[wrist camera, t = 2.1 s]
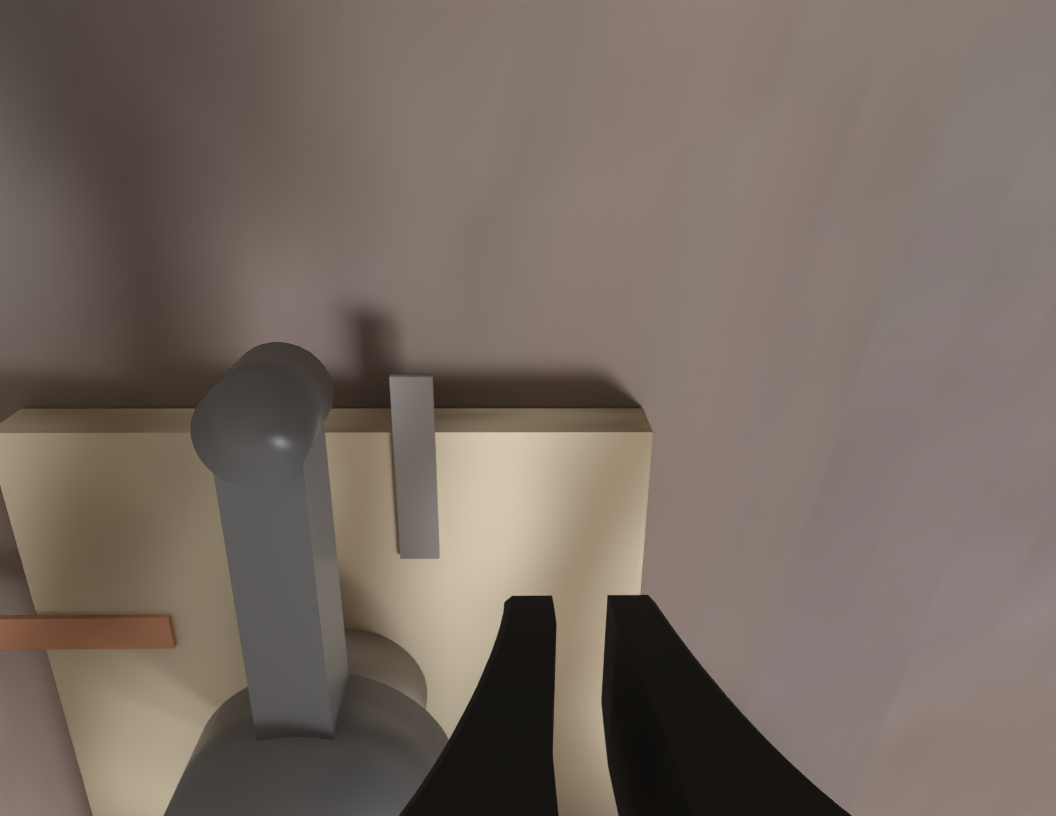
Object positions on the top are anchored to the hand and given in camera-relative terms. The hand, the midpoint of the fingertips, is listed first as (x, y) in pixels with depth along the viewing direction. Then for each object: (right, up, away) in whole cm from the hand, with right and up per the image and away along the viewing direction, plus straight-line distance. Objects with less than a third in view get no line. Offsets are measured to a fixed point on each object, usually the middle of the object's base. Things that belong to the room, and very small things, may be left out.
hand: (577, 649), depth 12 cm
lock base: (-7, -3, +11) cm, 13 cm away
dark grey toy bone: (-6, -2, +6) cm, 9 cm away
